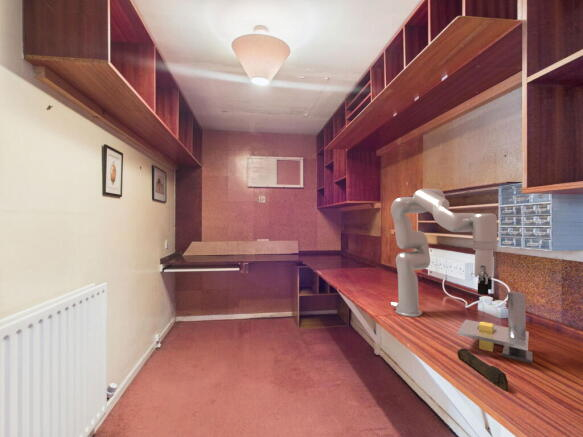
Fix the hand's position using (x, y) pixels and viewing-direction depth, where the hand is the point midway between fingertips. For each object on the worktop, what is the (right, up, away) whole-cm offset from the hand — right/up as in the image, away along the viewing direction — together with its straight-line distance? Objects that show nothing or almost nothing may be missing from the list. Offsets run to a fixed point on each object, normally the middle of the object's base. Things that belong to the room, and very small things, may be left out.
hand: (484, 291), depth 106 cm
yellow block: (0, -21, 0) cm, 21 cm away
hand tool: (-12, -22, -17) cm, 30 cm away
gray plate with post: (+2, -21, -2) cm, 21 cm away
